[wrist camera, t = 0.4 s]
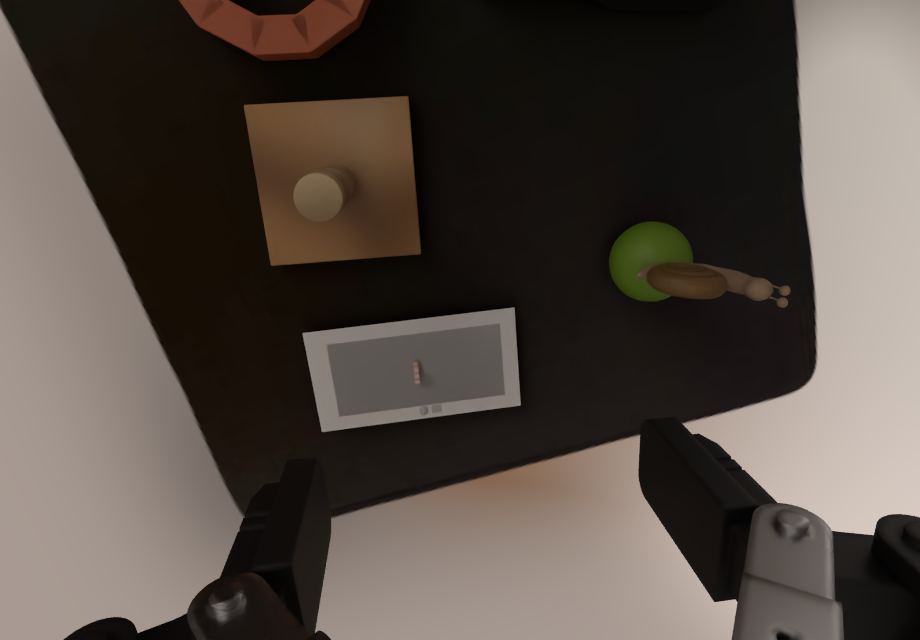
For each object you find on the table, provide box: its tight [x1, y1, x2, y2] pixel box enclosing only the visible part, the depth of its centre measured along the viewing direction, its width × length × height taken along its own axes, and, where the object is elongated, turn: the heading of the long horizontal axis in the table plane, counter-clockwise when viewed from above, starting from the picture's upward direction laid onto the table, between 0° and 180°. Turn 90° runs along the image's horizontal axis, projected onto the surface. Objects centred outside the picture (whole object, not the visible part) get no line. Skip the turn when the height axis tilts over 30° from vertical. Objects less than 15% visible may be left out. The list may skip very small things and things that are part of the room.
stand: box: [244, 96, 421, 266], centre depth 32 cm, size 10×10×10 cm
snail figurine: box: [609, 222, 790, 307], centre depth 35 cm, size 5×6×12 cm
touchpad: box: [303, 307, 521, 432], centre depth 40 cm, size 8×15×2 cm, turn 96°
